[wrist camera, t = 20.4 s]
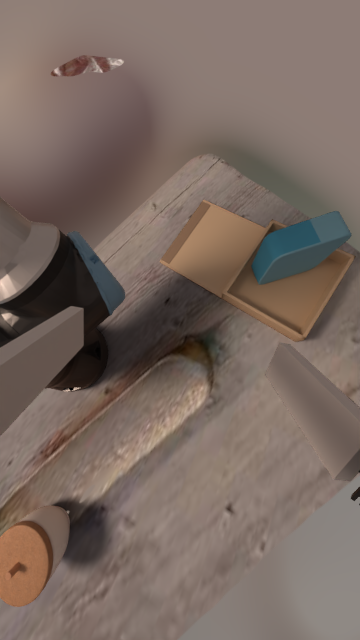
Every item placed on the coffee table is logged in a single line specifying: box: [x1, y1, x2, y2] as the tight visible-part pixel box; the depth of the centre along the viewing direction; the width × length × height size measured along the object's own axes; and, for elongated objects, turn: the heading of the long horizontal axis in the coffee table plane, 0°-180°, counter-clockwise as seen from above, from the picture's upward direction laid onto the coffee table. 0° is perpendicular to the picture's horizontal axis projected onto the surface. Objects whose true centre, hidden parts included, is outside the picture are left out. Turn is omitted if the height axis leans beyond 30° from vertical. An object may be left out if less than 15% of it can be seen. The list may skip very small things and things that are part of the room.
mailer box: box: [160, 200, 356, 342], centre depth 41 cm, size 34×19×4 cm, turn 56°
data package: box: [251, 211, 351, 285], centre depth 34 cm, size 12×4×12 cm, turn 106°
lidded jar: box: [0, 505, 70, 607], centre depth 33 cm, size 11×11×9 cm
